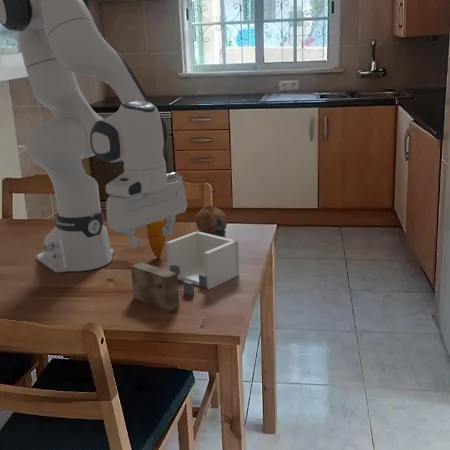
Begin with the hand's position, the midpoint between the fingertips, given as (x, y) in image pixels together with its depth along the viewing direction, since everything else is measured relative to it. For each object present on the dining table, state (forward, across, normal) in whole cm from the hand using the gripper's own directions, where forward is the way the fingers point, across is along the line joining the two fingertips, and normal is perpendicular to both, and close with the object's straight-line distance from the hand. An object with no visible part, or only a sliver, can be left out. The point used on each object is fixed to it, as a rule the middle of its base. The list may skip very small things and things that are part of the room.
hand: (152, 241), depth 128 cm
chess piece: (+15, -30, -8) cm, 34 cm away
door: (+15, 0, -1) cm, 15 cm away
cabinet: (+15, -15, -3) cm, 21 cm away
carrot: (+14, -20, -22) cm, 33 cm away
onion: (+15, -42, -22) cm, 49 cm away
